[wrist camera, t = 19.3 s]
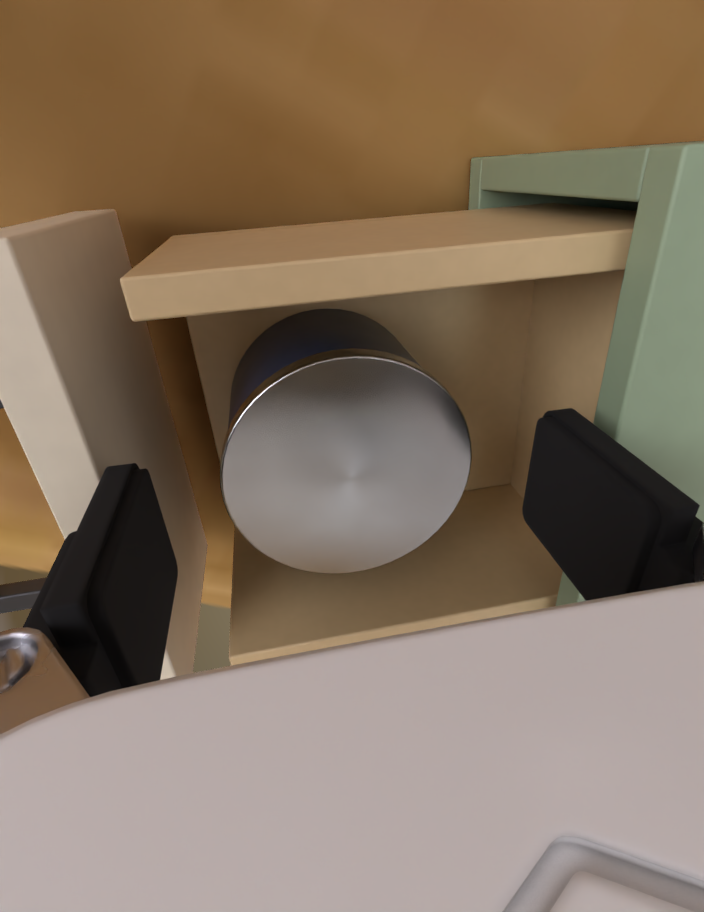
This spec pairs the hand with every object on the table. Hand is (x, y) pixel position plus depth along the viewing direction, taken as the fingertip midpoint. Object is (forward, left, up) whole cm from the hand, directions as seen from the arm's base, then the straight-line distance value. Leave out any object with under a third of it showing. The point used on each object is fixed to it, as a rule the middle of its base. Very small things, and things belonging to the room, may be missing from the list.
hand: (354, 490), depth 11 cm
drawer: (-2, -1, -7) cm, 8 cm away
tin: (0, 0, -6) cm, 6 cm away
